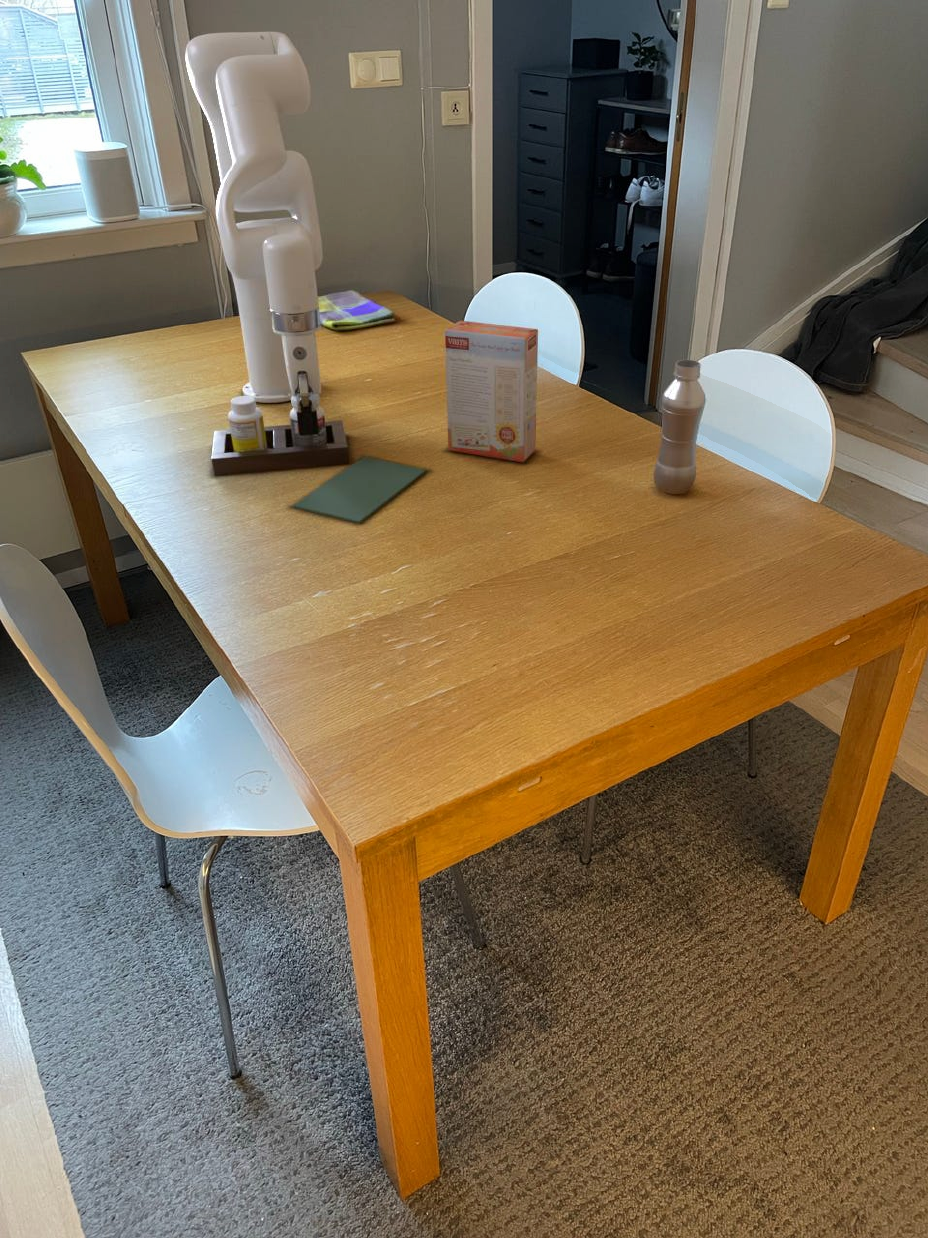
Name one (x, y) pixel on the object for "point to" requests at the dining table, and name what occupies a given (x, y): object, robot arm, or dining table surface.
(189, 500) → the dining table surface
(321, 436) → the pill bottle
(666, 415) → the plastic bottle
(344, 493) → the mat
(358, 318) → the dish towel
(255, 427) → the supplement bottle
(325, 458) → the rack
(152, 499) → the dining table surface
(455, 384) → the cracker box
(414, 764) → the dining table surface
